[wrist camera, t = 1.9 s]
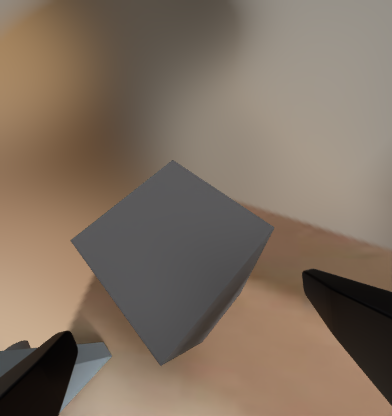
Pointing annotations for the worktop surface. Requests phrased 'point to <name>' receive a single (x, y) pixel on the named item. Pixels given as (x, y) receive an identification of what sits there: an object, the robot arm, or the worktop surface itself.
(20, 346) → the door
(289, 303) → the worktop surface
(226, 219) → the block
